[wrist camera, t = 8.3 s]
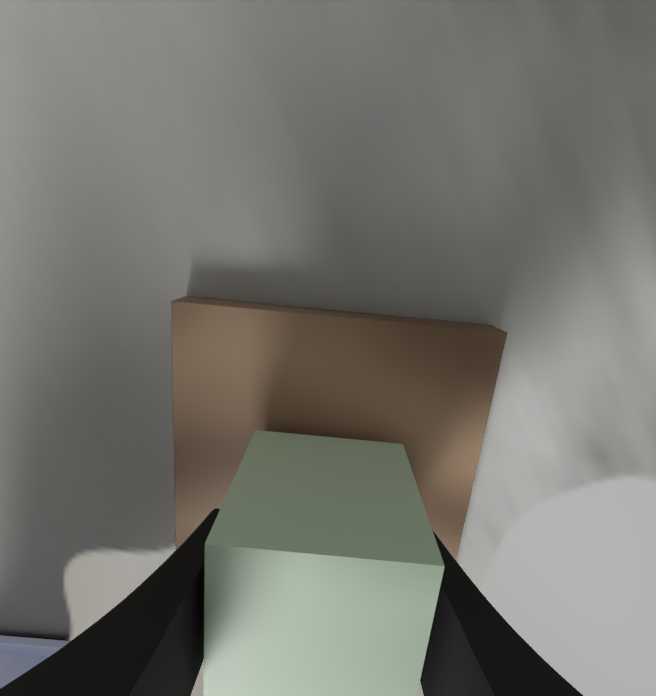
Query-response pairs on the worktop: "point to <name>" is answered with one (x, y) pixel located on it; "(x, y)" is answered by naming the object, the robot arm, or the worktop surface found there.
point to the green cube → (319, 572)
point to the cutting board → (328, 395)
